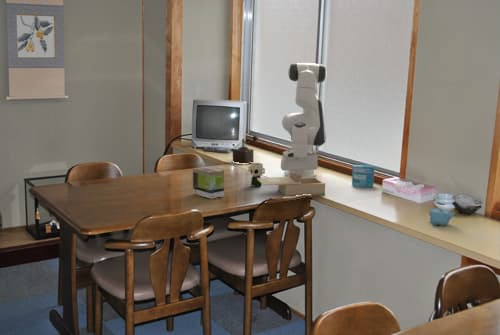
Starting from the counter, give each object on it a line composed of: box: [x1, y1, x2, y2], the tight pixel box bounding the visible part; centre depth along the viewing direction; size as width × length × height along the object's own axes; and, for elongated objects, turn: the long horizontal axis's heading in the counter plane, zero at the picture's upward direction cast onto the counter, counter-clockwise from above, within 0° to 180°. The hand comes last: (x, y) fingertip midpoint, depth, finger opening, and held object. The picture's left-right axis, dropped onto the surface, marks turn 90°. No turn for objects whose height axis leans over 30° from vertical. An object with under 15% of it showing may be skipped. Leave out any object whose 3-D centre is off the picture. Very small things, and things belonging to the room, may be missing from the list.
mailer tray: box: [277, 176, 326, 198], centre depth 353 cm, size 15×22×6 cm
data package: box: [351, 164, 375, 189], centre depth 369 cm, size 12×4×12 cm, turn 78°
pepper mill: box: [232, 135, 259, 163], centre depth 434 cm, size 16×11×18 cm
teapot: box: [428, 208, 456, 228], centre depth 295 cm, size 12×6×8 cm, turn 60°
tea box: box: [192, 166, 225, 199], centre depth 344 cm, size 15×10×15 cm, turn 41°
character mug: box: [247, 162, 266, 187], centre depth 367 cm, size 11×7×13 cm, turn 58°
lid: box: [257, 172, 301, 186], centre depth 350 cm, size 15×21×4 cm
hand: (299, 177), depth 352 cm, fingers closed
